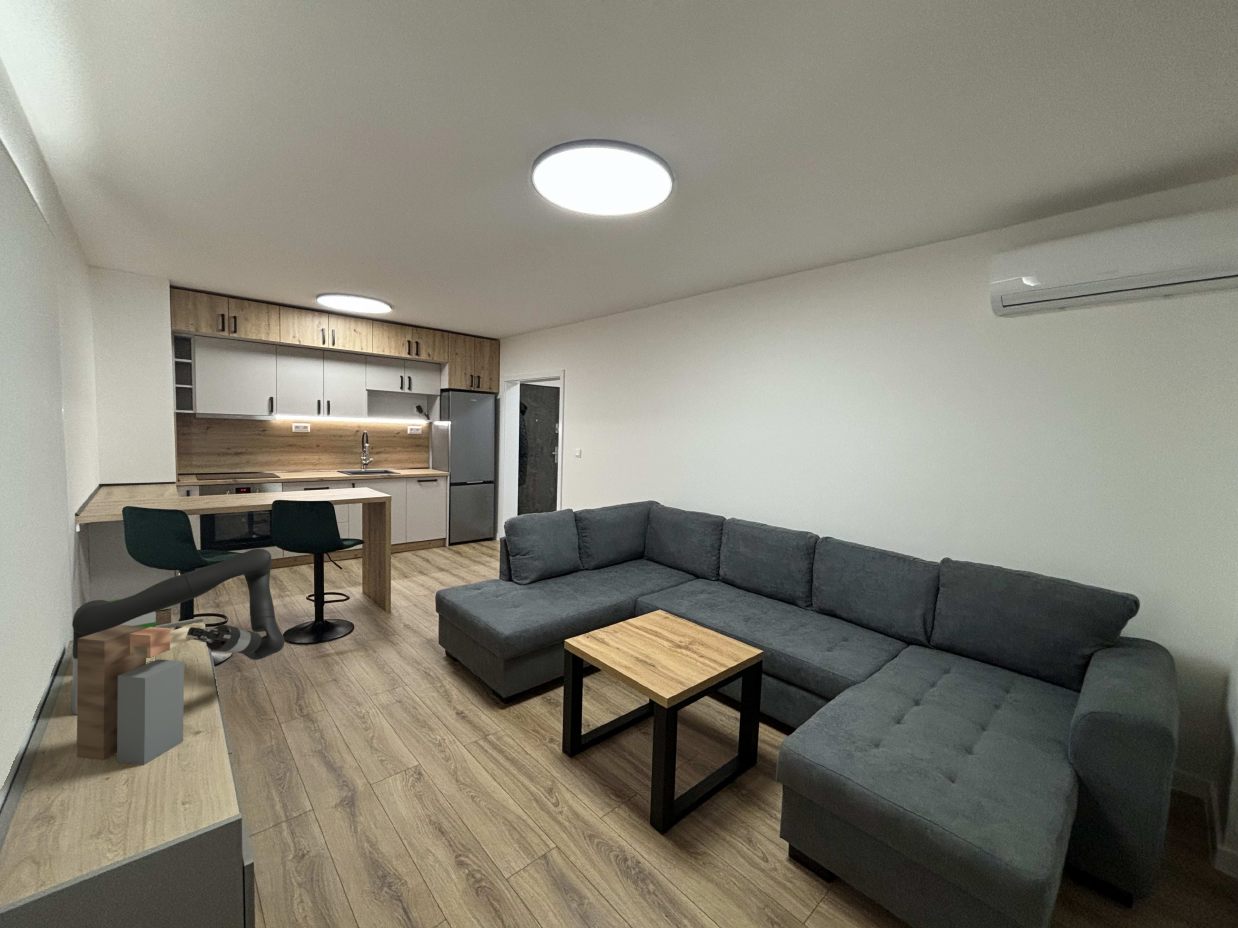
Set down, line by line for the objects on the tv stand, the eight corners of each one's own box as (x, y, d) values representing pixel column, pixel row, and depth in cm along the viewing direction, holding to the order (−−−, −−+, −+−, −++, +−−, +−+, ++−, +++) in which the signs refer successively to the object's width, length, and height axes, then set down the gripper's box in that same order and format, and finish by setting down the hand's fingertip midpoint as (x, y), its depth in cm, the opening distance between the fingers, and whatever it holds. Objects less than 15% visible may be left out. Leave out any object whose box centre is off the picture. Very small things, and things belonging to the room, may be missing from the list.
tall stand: (119, 734, 136) (120, 624, 135) (144, 737, 135) (146, 626, 135) (76, 757, 126) (77, 638, 125) (103, 760, 125) (104, 640, 125)
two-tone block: (189, 632, 142) (189, 613, 142) (208, 634, 142) (208, 614, 141) (130, 656, 126) (130, 633, 126) (150, 657, 126) (150, 635, 125)
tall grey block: (157, 738, 135) (158, 659, 134) (182, 741, 134) (183, 661, 134) (117, 761, 125) (117, 675, 124) (144, 764, 124) (145, 678, 124)
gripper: (214, 625, 154) (166, 615, 139) (254, 628, 153) (211, 618, 138) (203, 649, 151) (153, 642, 136) (244, 653, 149) (198, 645, 134)
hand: (182, 630), depth 137 cm, fingers closed on two-tone block, 4 cm apart
